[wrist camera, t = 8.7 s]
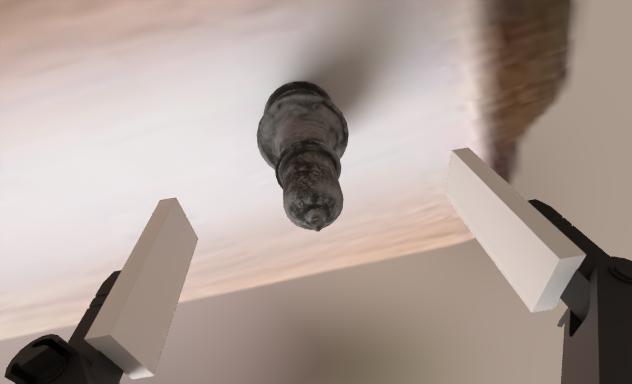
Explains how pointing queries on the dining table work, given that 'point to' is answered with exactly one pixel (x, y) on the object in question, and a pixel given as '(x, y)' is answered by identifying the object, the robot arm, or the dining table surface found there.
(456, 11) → the dining table surface
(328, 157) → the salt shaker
